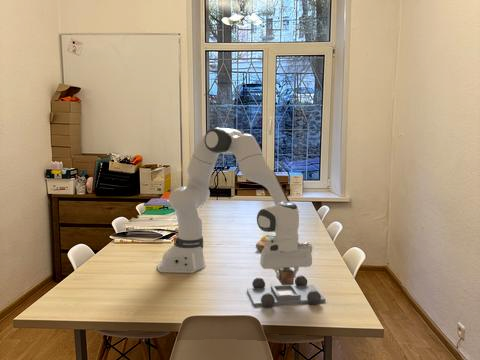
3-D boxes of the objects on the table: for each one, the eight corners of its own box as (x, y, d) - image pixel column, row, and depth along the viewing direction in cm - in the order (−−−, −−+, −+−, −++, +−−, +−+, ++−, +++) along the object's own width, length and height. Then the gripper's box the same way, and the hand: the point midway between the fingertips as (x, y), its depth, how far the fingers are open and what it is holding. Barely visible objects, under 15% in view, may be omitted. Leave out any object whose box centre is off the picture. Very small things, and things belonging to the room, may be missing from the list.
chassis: (254, 308, 156) (255, 295, 155) (246, 289, 173) (246, 278, 172) (327, 303, 161) (327, 291, 160) (311, 286, 178) (312, 274, 177)
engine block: (282, 285, 163) (282, 270, 162) (278, 279, 169) (278, 265, 168) (293, 284, 164) (294, 270, 163) (289, 278, 169) (289, 264, 169)
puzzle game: (255, 243, 224) (264, 233, 243) (255, 251, 224) (264, 241, 243) (277, 245, 220) (284, 235, 239) (277, 253, 221) (284, 243, 240)
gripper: (309, 240, 169) (308, 273, 171) (259, 242, 165) (259, 276, 167) (315, 245, 163) (313, 279, 165) (263, 247, 159) (262, 282, 161)
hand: (285, 277), depth 166 cm, fingers closed on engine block, 4 cm apart
